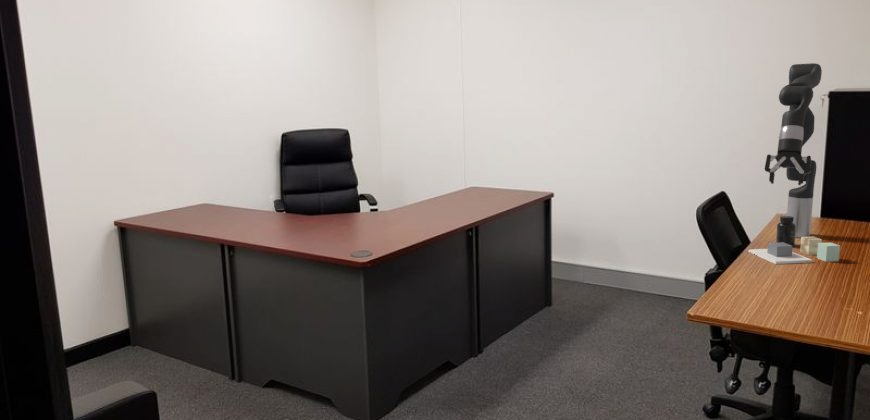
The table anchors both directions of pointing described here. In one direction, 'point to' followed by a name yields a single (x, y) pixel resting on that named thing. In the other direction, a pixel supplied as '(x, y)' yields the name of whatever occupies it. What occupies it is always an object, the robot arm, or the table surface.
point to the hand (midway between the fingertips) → (785, 184)
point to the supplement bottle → (786, 230)
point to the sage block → (828, 252)
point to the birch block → (809, 245)
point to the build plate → (780, 259)
